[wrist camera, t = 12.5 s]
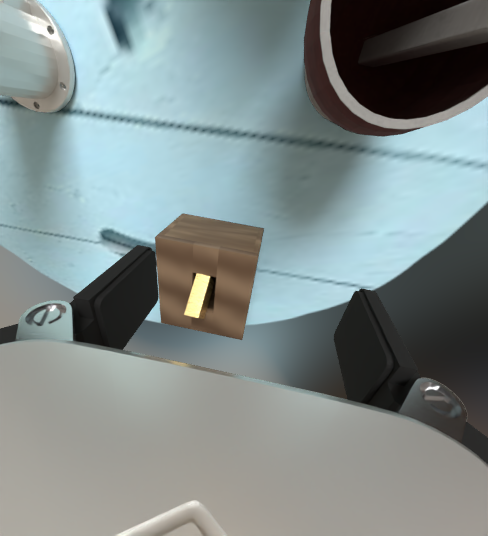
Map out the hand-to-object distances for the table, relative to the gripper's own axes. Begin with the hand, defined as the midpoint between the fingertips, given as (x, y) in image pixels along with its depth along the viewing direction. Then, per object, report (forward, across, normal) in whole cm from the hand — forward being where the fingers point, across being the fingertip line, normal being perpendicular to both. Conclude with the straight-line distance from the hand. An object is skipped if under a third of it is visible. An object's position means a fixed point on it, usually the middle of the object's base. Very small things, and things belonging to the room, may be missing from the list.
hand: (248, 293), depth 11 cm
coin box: (+28, +7, +16) cm, 33 cm away
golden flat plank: (+20, +7, +14) cm, 26 cm away
